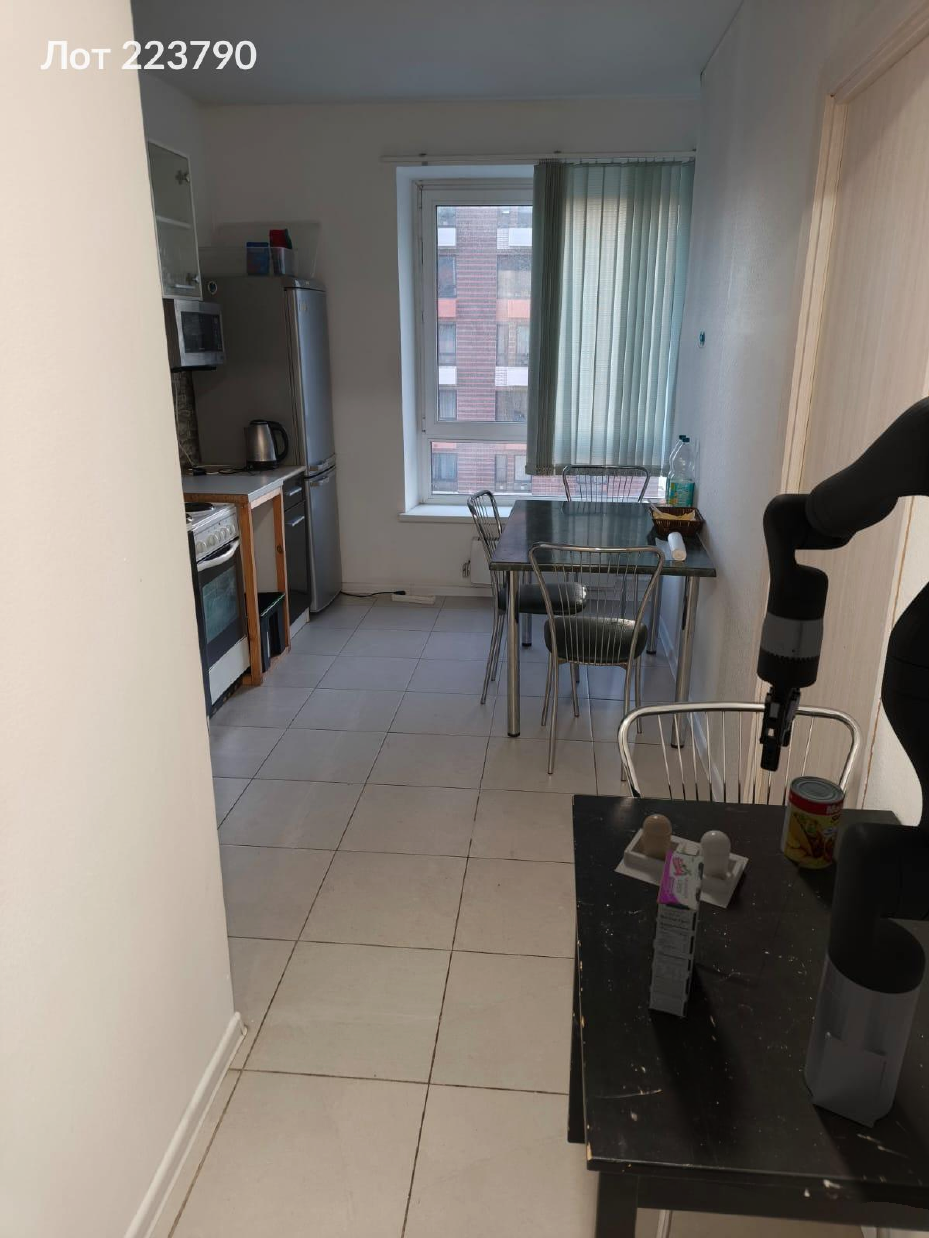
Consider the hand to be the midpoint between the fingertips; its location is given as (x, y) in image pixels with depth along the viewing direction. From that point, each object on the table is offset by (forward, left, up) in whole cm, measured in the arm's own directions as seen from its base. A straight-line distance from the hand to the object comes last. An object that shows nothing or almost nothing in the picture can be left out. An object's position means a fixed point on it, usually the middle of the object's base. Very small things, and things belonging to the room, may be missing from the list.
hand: (774, 756), depth 118 cm
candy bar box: (-22, +6, -25) cm, 33 cm away
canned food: (+17, -4, -25) cm, 30 cm away
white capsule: (+4, +7, -24) cm, 25 cm away
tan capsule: (+3, +16, -24) cm, 29 cm away
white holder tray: (+3, +12, -24) cm, 27 cm away
